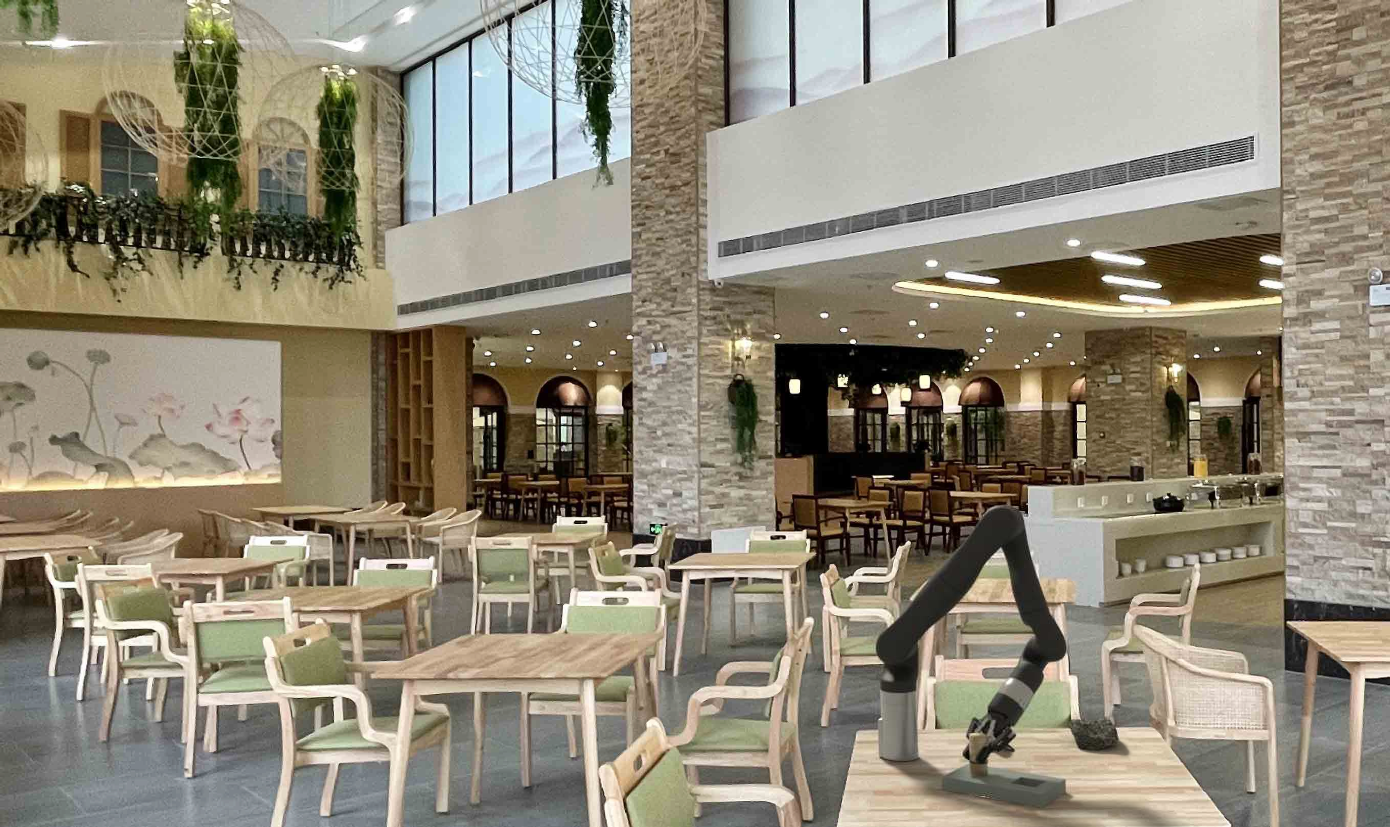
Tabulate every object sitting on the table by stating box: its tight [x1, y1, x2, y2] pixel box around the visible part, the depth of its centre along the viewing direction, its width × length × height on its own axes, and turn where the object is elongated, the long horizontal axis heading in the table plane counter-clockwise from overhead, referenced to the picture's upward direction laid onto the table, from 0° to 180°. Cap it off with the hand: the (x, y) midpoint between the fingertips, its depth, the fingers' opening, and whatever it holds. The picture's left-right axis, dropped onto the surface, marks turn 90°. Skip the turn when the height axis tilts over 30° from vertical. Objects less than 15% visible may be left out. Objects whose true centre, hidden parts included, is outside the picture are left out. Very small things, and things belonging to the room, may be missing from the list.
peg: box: [968, 732, 989, 776], centre depth 278 cm, size 4×4×9 cm
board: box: [941, 762, 1067, 809], centre depth 274 cm, size 24×14×3 cm, turn 51°
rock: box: [1068, 716, 1120, 751], centre depth 314 cm, size 12×16×6 cm
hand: (972, 759), depth 277 cm, fingers closed on peg, 4 cm apart
